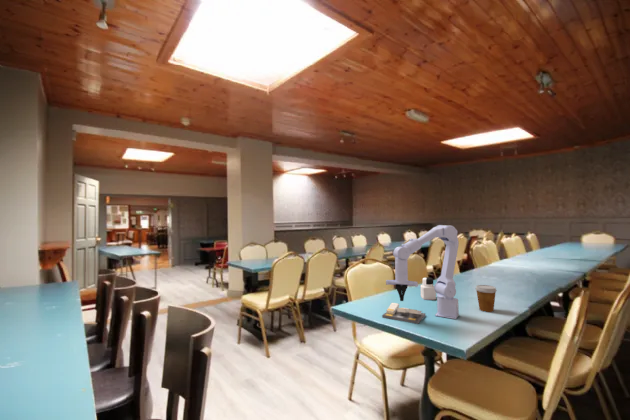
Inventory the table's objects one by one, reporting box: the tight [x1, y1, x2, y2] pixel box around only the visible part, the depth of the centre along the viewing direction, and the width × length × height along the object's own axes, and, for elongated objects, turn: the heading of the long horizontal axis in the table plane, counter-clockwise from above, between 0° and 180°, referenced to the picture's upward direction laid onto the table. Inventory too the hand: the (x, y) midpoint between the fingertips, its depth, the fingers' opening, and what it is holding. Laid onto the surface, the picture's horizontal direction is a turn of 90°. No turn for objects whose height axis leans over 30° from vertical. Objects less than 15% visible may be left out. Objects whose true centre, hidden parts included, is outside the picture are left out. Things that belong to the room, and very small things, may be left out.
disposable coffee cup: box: [475, 284, 497, 313], centre depth 159 cm, size 10×10×12 cm
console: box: [381, 309, 426, 325], centre depth 151 cm, size 17×13×2 cm
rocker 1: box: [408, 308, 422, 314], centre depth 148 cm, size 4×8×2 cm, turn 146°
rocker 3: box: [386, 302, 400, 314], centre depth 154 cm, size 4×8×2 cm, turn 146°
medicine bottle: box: [420, 276, 437, 301], centre depth 184 cm, size 7×7×12 cm
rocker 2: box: [397, 307, 410, 313], centre depth 151 cm, size 4×8×2 cm, turn 146°
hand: (401, 300), depth 148 cm, fingers closed
